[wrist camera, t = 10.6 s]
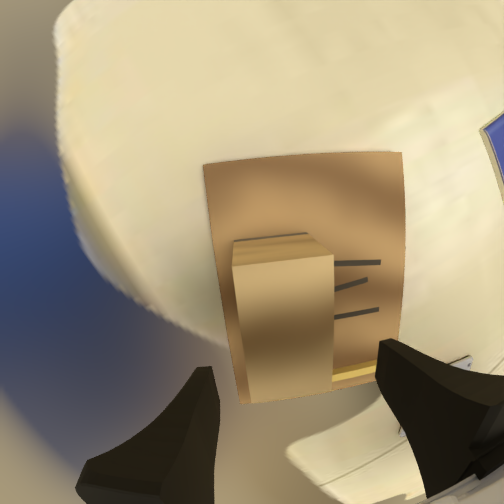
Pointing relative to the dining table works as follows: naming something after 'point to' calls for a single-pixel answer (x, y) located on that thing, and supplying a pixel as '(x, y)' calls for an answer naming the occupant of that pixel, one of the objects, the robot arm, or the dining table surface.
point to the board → (319, 239)
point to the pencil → (354, 370)
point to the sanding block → (285, 315)
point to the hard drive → (495, 147)
